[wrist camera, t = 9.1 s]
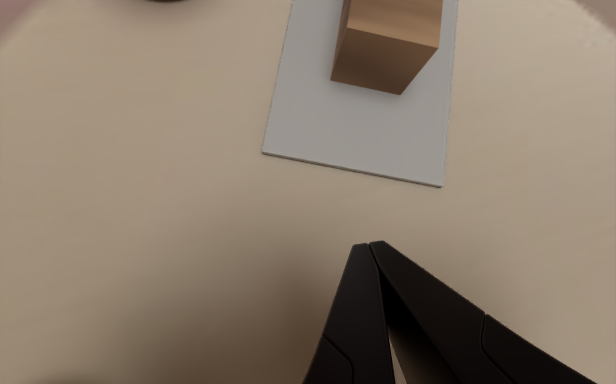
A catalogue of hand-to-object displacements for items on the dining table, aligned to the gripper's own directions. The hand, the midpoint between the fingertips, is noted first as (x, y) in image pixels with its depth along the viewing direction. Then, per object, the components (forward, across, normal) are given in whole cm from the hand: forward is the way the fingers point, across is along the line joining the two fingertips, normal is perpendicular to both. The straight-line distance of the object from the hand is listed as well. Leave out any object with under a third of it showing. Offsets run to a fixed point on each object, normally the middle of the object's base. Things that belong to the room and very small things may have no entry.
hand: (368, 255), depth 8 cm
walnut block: (+11, -3, -4) cm, 12 cm away
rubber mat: (+15, -4, -5) cm, 16 cm away
